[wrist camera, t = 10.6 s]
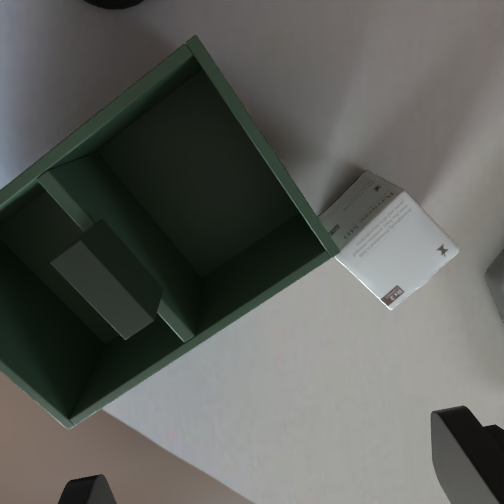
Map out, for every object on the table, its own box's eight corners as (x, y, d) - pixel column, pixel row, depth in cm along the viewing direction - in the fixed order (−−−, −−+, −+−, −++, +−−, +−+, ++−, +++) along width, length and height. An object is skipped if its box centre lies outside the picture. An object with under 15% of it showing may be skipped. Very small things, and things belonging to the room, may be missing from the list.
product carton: (365, 167, 31) (405, 186, 24) (414, 219, 33) (465, 249, 26) (309, 224, 33) (332, 257, 26) (359, 271, 34) (393, 313, 27)
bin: (107, 349, 34) (45, 479, 22) (-15, 227, 30) (-170, 308, 18) (309, 211, 31) (360, 278, 19) (204, 55, 27) (189, 19, 15)
